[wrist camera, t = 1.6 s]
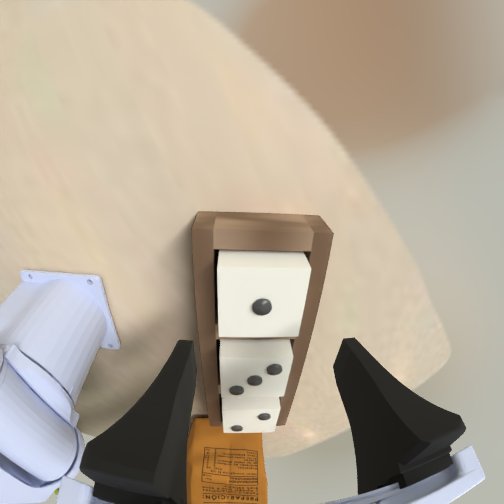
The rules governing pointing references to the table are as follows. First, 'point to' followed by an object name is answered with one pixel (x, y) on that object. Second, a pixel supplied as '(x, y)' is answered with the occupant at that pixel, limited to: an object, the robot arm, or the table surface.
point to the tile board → (254, 238)
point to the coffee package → (224, 466)
